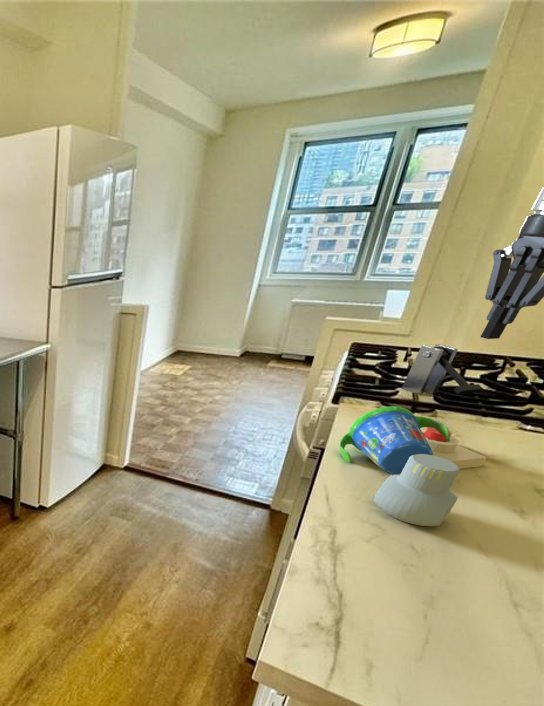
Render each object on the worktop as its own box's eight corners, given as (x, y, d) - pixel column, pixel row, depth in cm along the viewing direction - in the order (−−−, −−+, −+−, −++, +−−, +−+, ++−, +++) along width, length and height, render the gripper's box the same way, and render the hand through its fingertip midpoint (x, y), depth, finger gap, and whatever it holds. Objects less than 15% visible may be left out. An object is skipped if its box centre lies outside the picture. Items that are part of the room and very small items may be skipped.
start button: (452, 442, 94) (457, 434, 93) (436, 443, 93) (441, 435, 92) (433, 433, 97) (437, 426, 96) (418, 435, 96) (422, 427, 95)
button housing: (480, 467, 92) (492, 449, 90) (436, 472, 91) (446, 453, 89) (417, 439, 103) (426, 422, 101) (376, 443, 101) (385, 425, 99)
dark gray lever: (475, 394, 113) (485, 387, 111) (455, 395, 112) (465, 389, 110) (437, 352, 120) (446, 345, 118) (418, 354, 119) (427, 347, 117)
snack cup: (347, 455, 89) (326, 423, 97) (360, 493, 94) (339, 459, 101) (460, 423, 81) (428, 391, 89) (468, 466, 85) (437, 433, 93)
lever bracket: (456, 403, 118) (483, 353, 112) (424, 406, 117) (450, 355, 111) (407, 386, 129) (430, 339, 123) (378, 388, 128) (399, 341, 121)
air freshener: (428, 540, 74) (461, 485, 69) (363, 514, 80) (389, 462, 75) (448, 514, 79) (480, 462, 74) (386, 492, 85) (412, 442, 80)
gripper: (501, 211, 95) (442, 330, 107) (586, 215, 84) (509, 347, 95) (534, 211, 96) (472, 328, 108) (622, 215, 85) (541, 346, 96)
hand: (489, 337), depth 102 cm, fingers closed
